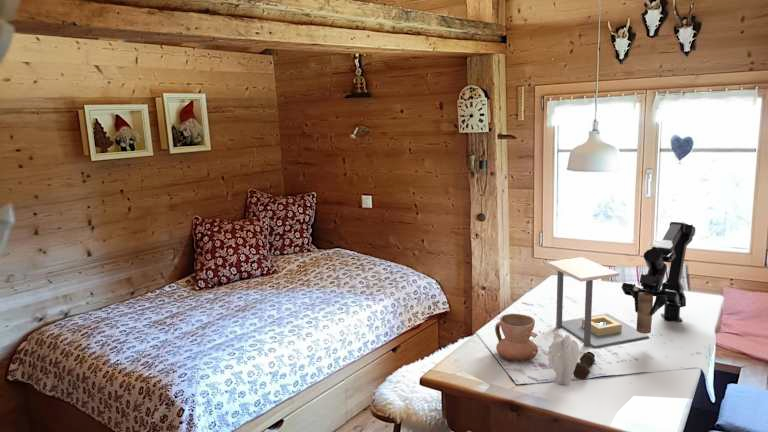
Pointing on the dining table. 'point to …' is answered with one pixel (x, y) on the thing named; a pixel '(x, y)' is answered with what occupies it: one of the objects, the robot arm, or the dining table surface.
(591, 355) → the bolt
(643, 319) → the walnut peg
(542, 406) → the dining table surface
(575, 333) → the socket stand
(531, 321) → the ceramic jug
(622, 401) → the dining table surface
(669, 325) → the dining table surface
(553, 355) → the shell sculpture
